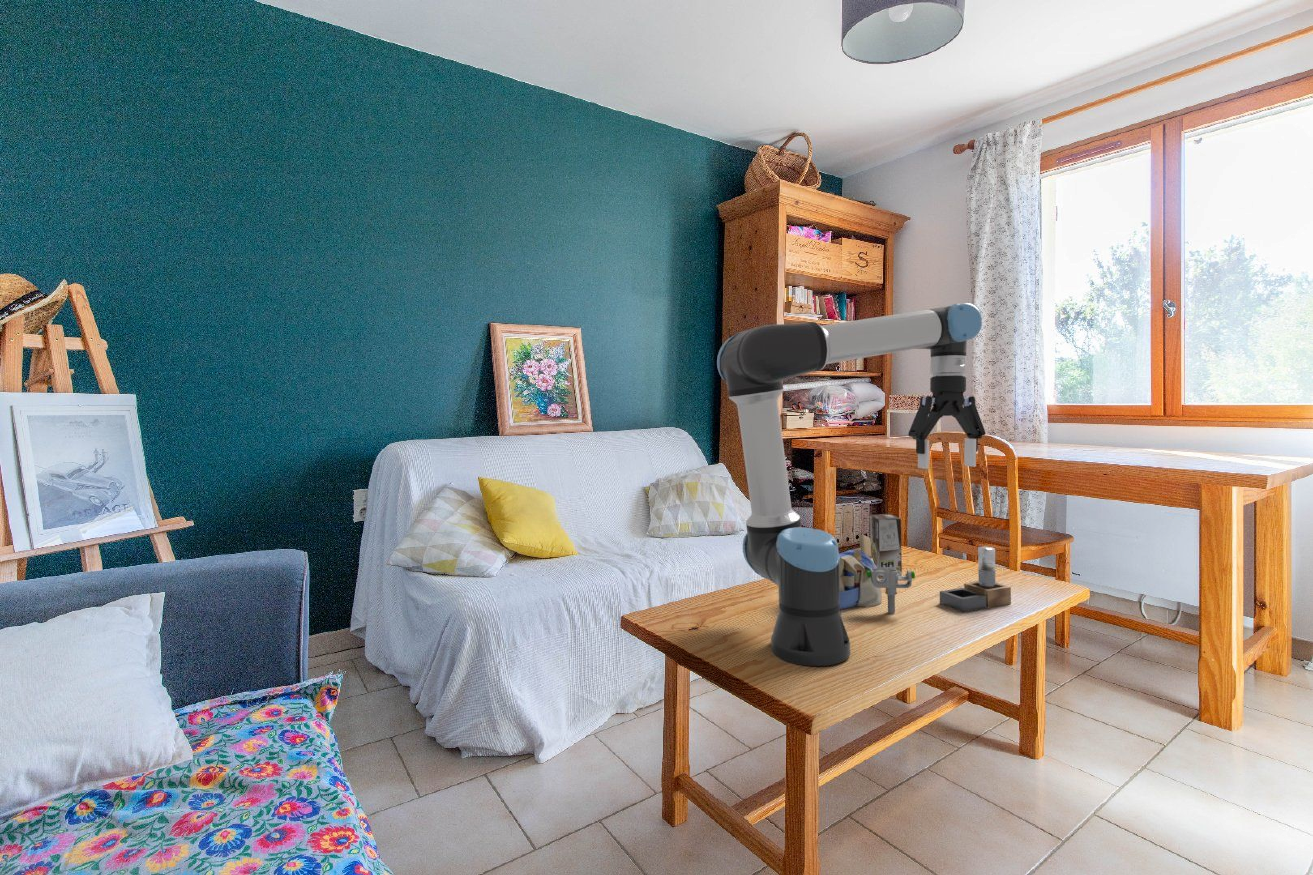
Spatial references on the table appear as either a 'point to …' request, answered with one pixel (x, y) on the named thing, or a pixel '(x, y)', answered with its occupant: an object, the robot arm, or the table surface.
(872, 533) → the grey printed carton
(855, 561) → the toy tool belt
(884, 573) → the mechanical component
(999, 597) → the open square brown box
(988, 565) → the dome-ended metal rod
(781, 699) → the table surface
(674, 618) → the table surface
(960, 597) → the socket
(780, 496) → the robot arm
